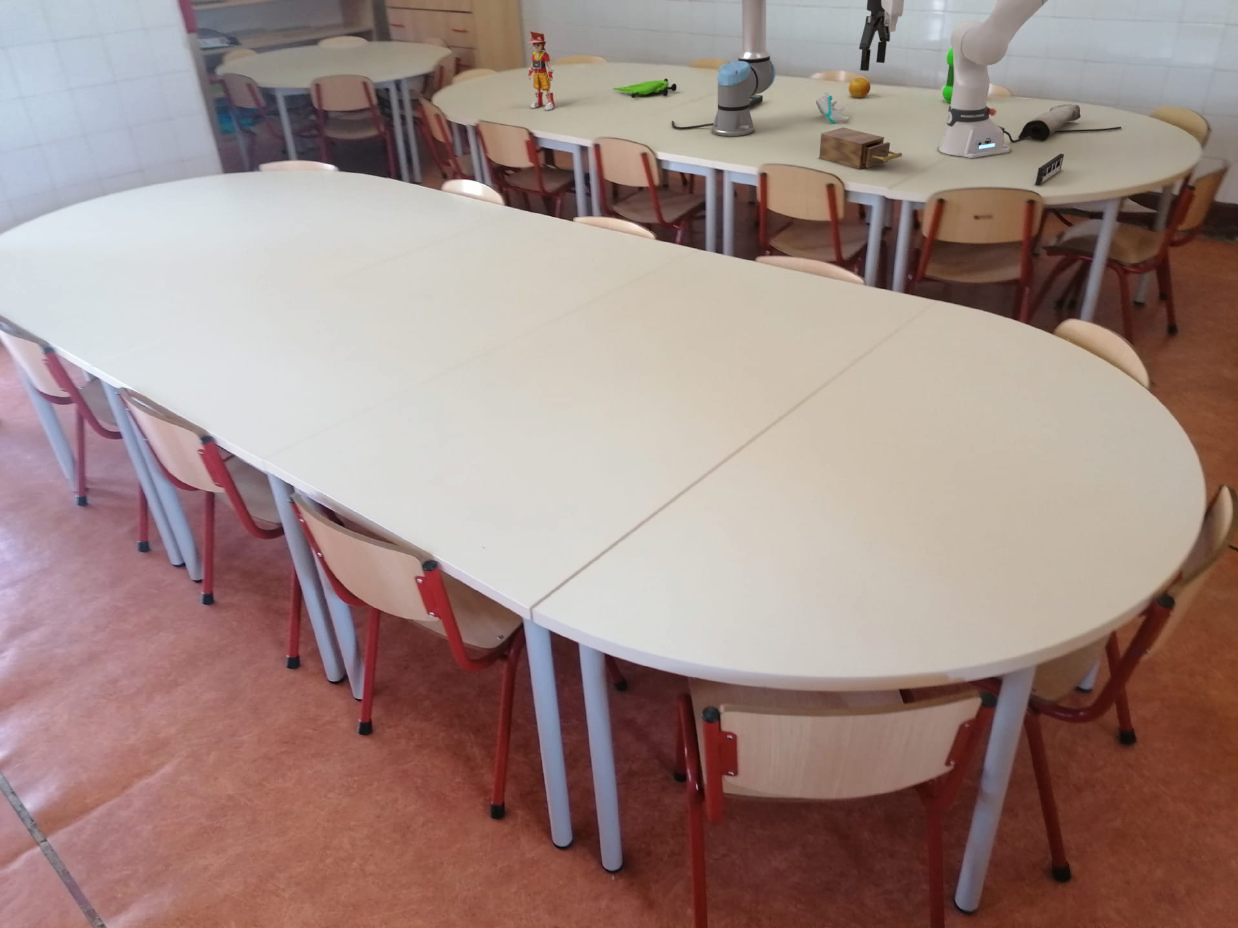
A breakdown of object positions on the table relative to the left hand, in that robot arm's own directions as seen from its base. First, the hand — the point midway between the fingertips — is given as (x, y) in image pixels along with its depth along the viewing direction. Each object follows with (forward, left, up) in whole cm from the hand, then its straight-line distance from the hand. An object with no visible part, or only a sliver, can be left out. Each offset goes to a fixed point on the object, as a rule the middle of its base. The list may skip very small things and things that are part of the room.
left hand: (872, 66), depth 305 cm
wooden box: (+3, -26, -24) cm, 35 cm away
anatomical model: (-21, +22, -24) cm, 39 cm away
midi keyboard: (+65, -23, -24) cm, 73 cm away
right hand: (+11, -23, +16) cm, 30 cm away
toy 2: (-114, +39, -24) cm, 123 cm away
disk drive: (-61, +31, -24) cm, 72 cm away
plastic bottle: (+16, +62, -24) cm, 68 cm away
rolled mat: (+56, +31, -24) cm, 69 cm away
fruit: (-22, +59, -24) cm, 67 cm away
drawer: (+9, -29, -23) cm, 38 cm away
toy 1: (-141, +2, -24) cm, 143 cm away
